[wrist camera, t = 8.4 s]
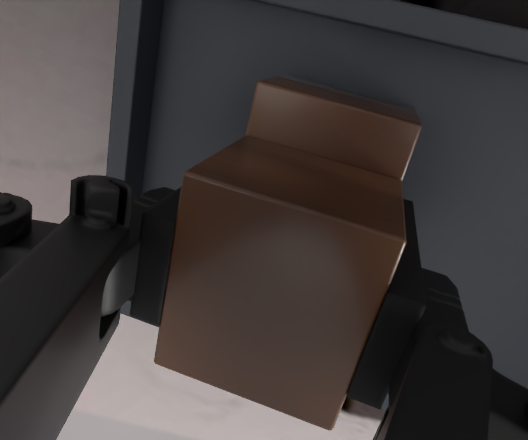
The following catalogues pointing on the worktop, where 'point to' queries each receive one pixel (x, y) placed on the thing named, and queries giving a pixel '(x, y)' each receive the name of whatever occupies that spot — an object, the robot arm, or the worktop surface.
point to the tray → (364, 82)
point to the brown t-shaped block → (289, 247)
